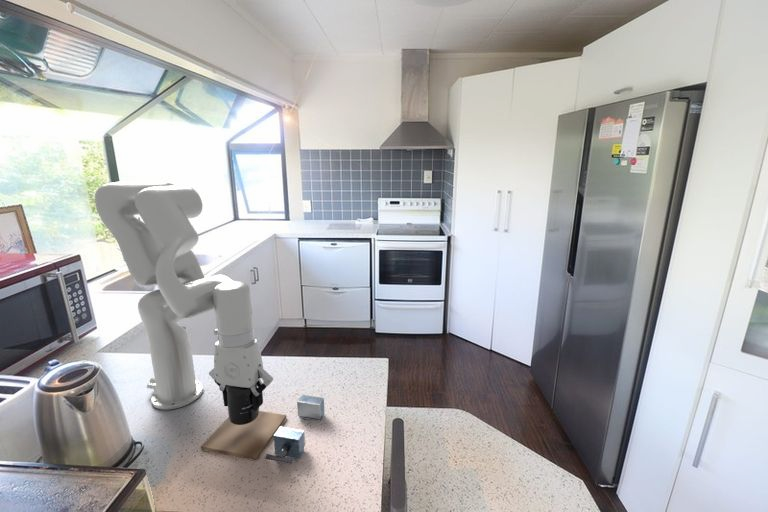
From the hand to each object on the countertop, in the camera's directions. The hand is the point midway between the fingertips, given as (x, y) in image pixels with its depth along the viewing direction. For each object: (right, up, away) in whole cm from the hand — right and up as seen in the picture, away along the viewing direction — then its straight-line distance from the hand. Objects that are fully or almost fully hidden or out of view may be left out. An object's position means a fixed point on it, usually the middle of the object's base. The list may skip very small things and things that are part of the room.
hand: (243, 404), depth 86 cm
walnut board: (0, -8, +2) cm, 8 cm away
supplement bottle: (0, -3, +1) cm, 3 cm away
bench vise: (+13, -8, 0) cm, 15 cm away
